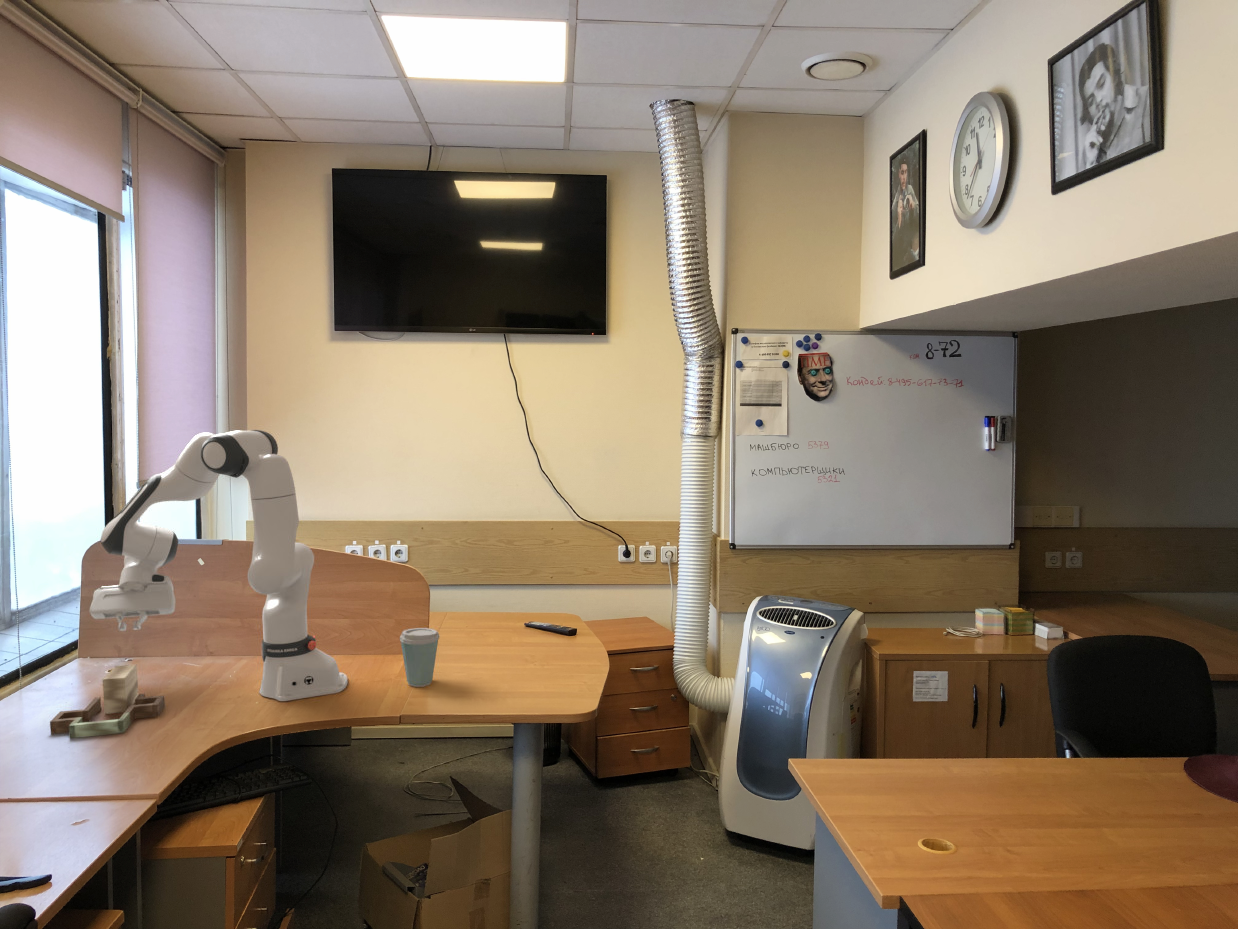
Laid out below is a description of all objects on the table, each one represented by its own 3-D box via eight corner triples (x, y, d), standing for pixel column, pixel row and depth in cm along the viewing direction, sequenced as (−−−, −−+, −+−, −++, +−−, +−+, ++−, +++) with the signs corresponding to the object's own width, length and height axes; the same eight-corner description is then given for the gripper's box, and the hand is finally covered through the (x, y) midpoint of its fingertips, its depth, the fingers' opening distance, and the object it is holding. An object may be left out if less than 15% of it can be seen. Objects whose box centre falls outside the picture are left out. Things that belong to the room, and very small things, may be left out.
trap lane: (167, 702, 219) (167, 691, 219) (148, 730, 202) (147, 718, 202) (72, 711, 214) (72, 699, 213) (44, 740, 196) (43, 728, 196)
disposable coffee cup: (411, 675, 239) (410, 623, 237) (447, 677, 237) (445, 625, 235) (394, 688, 228) (392, 634, 227) (431, 691, 226) (429, 637, 225)
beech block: (138, 697, 223) (136, 664, 222) (127, 712, 213) (124, 677, 212) (117, 699, 222) (115, 666, 221) (104, 714, 212) (102, 679, 211)
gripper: (91, 580, 228) (81, 626, 220) (175, 576, 233) (168, 620, 225) (98, 593, 233) (88, 638, 224) (179, 588, 238) (173, 631, 230)
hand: (129, 629), depth 225 cm, fingers open, 2 cm apart
